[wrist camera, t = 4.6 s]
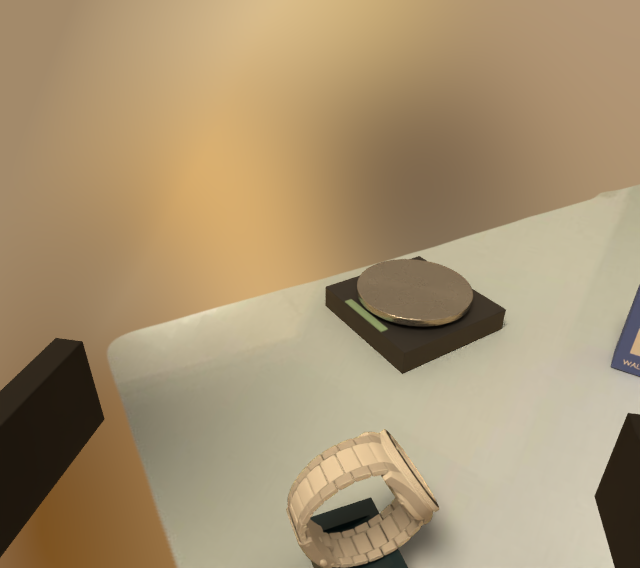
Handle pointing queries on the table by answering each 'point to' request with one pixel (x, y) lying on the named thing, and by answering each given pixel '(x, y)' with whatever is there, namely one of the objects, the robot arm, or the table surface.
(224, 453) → the table surface
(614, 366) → the walkman
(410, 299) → the scale pan
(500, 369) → the table surface
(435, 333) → the scale
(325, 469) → the watch
